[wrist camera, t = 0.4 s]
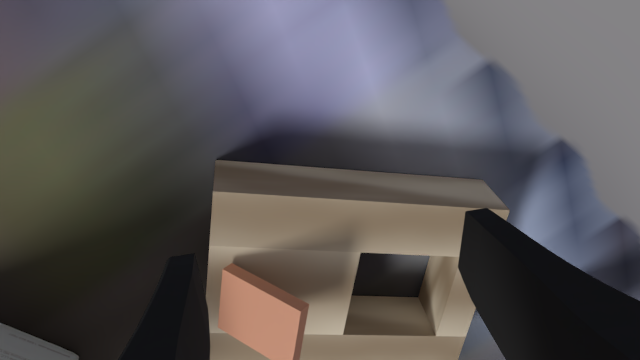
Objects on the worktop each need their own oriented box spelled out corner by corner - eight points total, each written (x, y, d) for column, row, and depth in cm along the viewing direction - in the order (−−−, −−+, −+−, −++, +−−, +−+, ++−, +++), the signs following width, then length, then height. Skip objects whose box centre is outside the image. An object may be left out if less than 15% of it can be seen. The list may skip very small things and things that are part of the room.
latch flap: (299, 363, 23) (290, 371, 22) (226, 320, 24) (217, 327, 24) (309, 304, 21) (300, 311, 21) (231, 262, 23) (222, 269, 22)
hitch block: (434, 333, 31) (452, 374, 28) (203, 330, 28) (200, 374, 26) (482, 179, 26) (509, 210, 24) (215, 159, 24) (213, 191, 21)
